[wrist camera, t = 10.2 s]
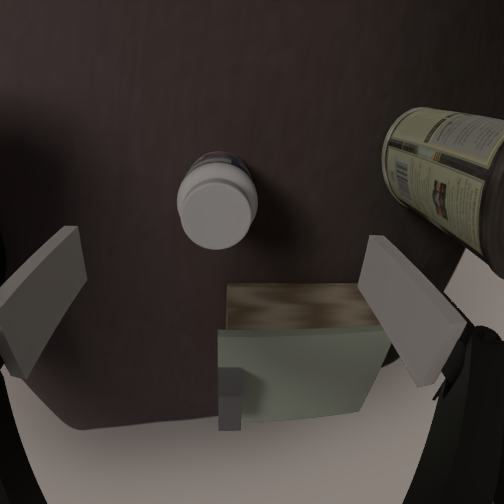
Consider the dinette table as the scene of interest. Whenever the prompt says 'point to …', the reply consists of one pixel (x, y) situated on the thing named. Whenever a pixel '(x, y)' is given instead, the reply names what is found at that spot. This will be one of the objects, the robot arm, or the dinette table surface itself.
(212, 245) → the pill bottle
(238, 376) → the lid
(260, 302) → the box
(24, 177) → the dinette table surface
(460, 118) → the coffee can
